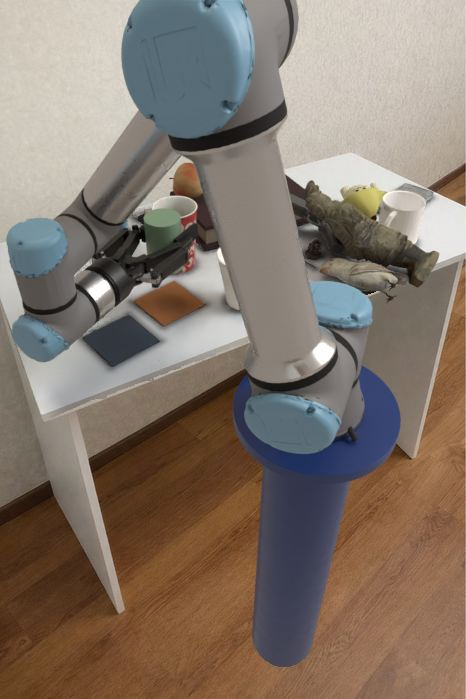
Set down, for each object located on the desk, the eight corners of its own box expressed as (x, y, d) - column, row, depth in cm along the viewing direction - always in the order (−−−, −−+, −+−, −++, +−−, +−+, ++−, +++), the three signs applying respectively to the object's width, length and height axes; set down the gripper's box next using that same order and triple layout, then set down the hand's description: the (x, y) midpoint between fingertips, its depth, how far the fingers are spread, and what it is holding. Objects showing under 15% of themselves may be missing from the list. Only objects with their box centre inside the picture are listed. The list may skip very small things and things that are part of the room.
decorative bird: (317, 282, 120) (334, 267, 125) (390, 308, 112) (406, 291, 117) (319, 259, 117) (337, 244, 121) (395, 284, 109) (411, 267, 114)
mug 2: (393, 223, 137) (401, 186, 131) (425, 240, 132) (434, 202, 125) (358, 240, 131) (364, 202, 125) (390, 258, 126) (398, 219, 120)
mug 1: (206, 270, 122) (204, 212, 113) (164, 280, 120) (159, 221, 111) (185, 240, 131) (182, 184, 122) (146, 249, 128) (139, 192, 119)
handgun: (267, 224, 122) (269, 195, 130) (346, 260, 126) (344, 230, 135) (273, 213, 120) (275, 184, 129) (354, 250, 124) (351, 220, 133)
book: (271, 186, 150) (273, 164, 146) (314, 221, 137) (316, 198, 133) (170, 211, 140) (168, 188, 137) (205, 251, 128) (205, 227, 124)
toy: (376, 172, 142) (401, 188, 129) (379, 200, 145) (404, 217, 132) (323, 188, 142) (342, 205, 129) (327, 215, 145) (347, 234, 132)
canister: (190, 266, 108) (188, 218, 101) (162, 280, 105) (158, 230, 98) (169, 252, 112) (165, 204, 105) (141, 264, 109) (136, 216, 102)
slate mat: (160, 341, 106) (160, 340, 106) (112, 366, 101) (112, 365, 101) (128, 315, 111) (128, 314, 111) (82, 338, 106) (82, 336, 106)
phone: (434, 196, 147) (435, 192, 146) (403, 221, 138) (404, 216, 137) (404, 187, 151) (405, 182, 150) (372, 210, 142) (373, 205, 141)
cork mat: (205, 304, 114) (205, 303, 114) (163, 326, 109) (163, 325, 109) (174, 282, 119) (174, 280, 119) (133, 301, 114) (133, 300, 114)
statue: (406, 298, 124) (283, 227, 125) (428, 260, 125) (305, 190, 126) (423, 289, 113) (288, 211, 114) (447, 248, 114) (312, 170, 115)
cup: (275, 294, 116) (278, 246, 109) (256, 323, 110) (258, 274, 102) (229, 282, 119) (229, 234, 112) (208, 309, 113) (207, 261, 105)
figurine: (315, 268, 123) (317, 251, 120) (288, 252, 127) (289, 236, 125) (333, 259, 126) (335, 242, 123) (305, 243, 130) (307, 227, 127)
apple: (198, 205, 128) (163, 195, 128) (201, 203, 136) (167, 193, 135) (208, 168, 126) (171, 157, 125) (210, 167, 133) (176, 157, 133)
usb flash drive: (155, 226, 134) (155, 230, 134) (172, 217, 136) (173, 221, 137) (131, 213, 138) (132, 217, 139) (148, 205, 141) (149, 209, 142)
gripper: (56, 290, 99) (138, 228, 114) (151, 327, 92) (225, 257, 107) (47, 252, 94) (134, 193, 109) (146, 288, 87) (225, 220, 102)
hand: (179, 224), depth 108 cm, fingers closed on canister, 6 cm apart
